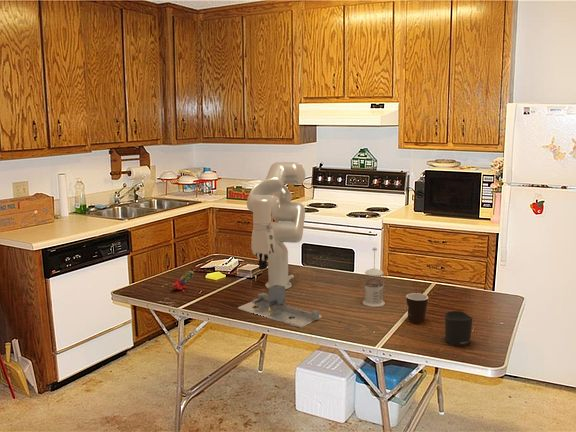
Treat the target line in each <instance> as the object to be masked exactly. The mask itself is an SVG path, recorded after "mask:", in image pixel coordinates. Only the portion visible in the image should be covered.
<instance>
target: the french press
mask: <svg viewBox="0 0 576 432" xmlns="http://www.w3.org/2000/svg"><path fill="white" fill-rule="evenodd" d="M377 249H378V248H377V247H372V251H373V252H374V255H373V258H374V259H373V268H369V269H367V270H366V271H364V273H365V275H366V276H369V277H378V278H380V279H376V278H370V279H367V280H366V281H365V284H364V299H363V301H362V304H363V305H365V306H367V307H374V308H375V307H376V308H377V307H382V306H384V305H385V303H386V302H385V301H384V300H383V299H384V298H383V297H384V296H383V294H384V293H383V292H384V290H383V289H384V286H385V282H383V280H382V278H383V279H385V276H384V271H382V270H381V269H378V268H375V264H376V263H375V261H376V260H375V259H376V255H375V254H376V251H377Z"/></svg>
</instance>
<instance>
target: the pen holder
mask: <svg viewBox="0 0 576 432" xmlns="http://www.w3.org/2000/svg"><path fill="white" fill-rule="evenodd" d="M444 318H445V321H444V322H445V324H444V337H445V342H446V343H447V344H449V345H451V346H457V347H465V346H466V347H467V346H468V345H469V344H470V343H471V336H472V325H473V316H471V315H469V314H467V313H466V312H463V311H459V310H451V311H448V312H446V313H445V317H444Z"/></svg>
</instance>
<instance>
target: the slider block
mask: <svg viewBox="0 0 576 432" xmlns="http://www.w3.org/2000/svg"><path fill="white" fill-rule="evenodd" d="M268 300H269V303H266V306H267V307H268V311H271V310H270V307H271V306H274V305H277V306H278V305H281V304H285V303H286V289H285V287H284V286H280V285H274V286H271V287H269V289H268Z"/></svg>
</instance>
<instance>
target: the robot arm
mask: <svg viewBox="0 0 576 432" xmlns="http://www.w3.org/2000/svg"><path fill="white" fill-rule="evenodd" d="M305 180H306V171H305V168H304V167H303V166H302V165H301V164H299V163H297V162H294V161H277V162H274V163H272V164H271V165H270V167H269V169H268V172H267V175H266V178H265V179H264V180H262V181H260V182H259V183H257V184H256V185H254V186H253V187H252V188H251V189H250V192H249V194H248V197H247V200H246V207H247V209H248V211H250V212H252V217H253V219H252V220H253V221H252V222H253V226H252V227H253V228H252V233H251V242H250V243H251V245H250V247H251V251H252V254H253V255H255V256H256V258H257V261H258V269H259V270H261V271H264V270H266V269H268V271H267V274H268V281H267V282H266V283H265V285H264V286H265V288H266V289H268V290H269V287H271V286H274V285H280V286H284V287H285V290H288V289H290V288H291V287H292V282H290V280H292V279H294V278H295V276H294V274H290V275H289V251H288V248H287V246H286V244H285V243H291V244H292V243H294V244H296V243H300V242H301V241H302V239H303V233H304V227H305V217H306V210H305V206H304V204H303V203H302V202H295V201H293V202H292V197H293V195H292V193H291V191H290V190H289V189H288V187H287V186H286V185H302V184H303V183H304V182H305ZM272 220H274V221H272ZM267 263H268V264H267Z"/></svg>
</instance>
